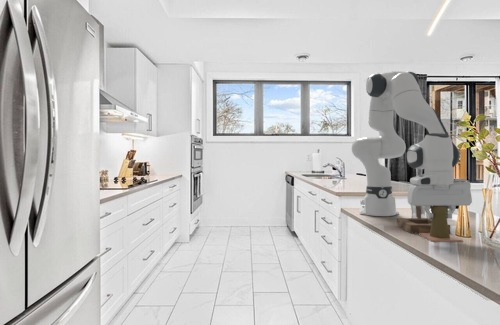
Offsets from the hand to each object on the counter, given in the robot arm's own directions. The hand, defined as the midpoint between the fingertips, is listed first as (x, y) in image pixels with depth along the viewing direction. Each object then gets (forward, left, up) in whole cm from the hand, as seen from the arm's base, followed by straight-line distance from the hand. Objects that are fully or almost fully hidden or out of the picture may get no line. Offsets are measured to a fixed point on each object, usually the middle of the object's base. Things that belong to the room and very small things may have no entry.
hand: (439, 218), depth 111 cm
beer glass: (-29, +5, -7) cm, 30 cm away
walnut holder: (-14, 0, -7) cm, 16 cm away
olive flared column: (0, 0, -6) cm, 6 cm away
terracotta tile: (0, 0, -7) cm, 7 cm away
